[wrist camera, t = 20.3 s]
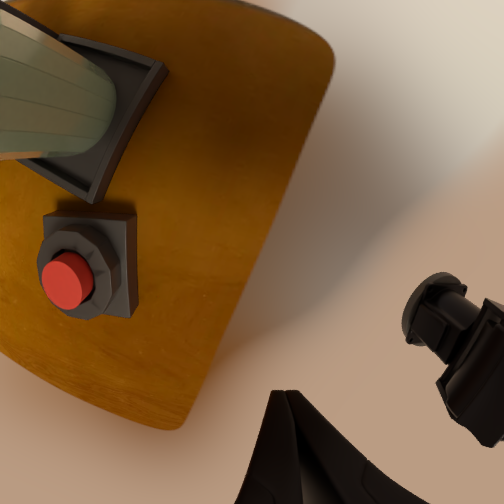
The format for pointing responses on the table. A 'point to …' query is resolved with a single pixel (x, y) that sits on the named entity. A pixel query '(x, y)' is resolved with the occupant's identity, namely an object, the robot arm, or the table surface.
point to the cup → (48, 95)
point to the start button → (67, 280)
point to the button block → (96, 258)
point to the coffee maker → (122, 125)
